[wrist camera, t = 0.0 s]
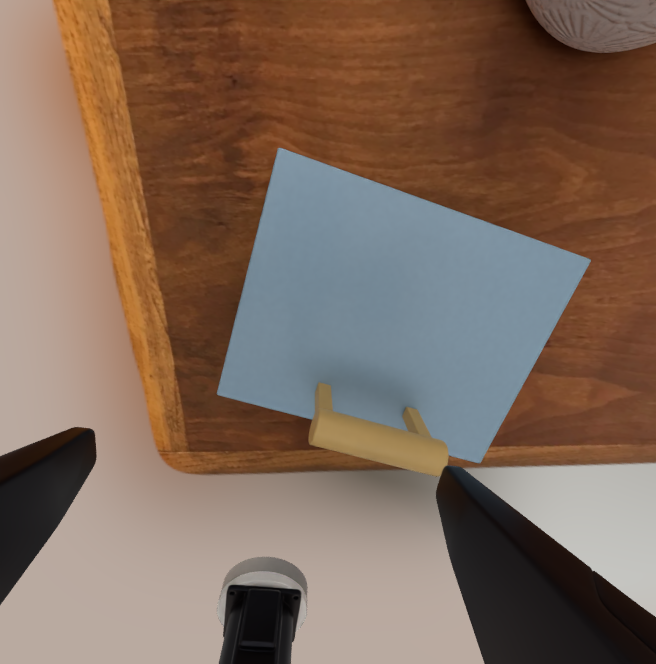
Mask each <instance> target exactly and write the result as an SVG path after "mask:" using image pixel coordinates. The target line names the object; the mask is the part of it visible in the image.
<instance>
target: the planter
mask: <svg viewBox="0 0 656 664" xmlns="http://www.w3.org/2000/svg"><path fill="white" fill-rule="evenodd" d="M526 2H527V5H528V7H529V8H530V10H531V12H532V13H533V15H534V17H535V18H536V19H537V21H538V22H539V23H540V25H541V26H542V27H543V28H544V29H545V30H546V31H547V32H548V33H549V34H550V35H552V36H553V37H554V38H555V39H557V40H559V41H560V42H562V43H564V44H565V45H568V46H570V47H572V48H575V49H579V50H582V51H588V52H596V53H612V52H620V51H627V50H631V49H636V48H640V47H644V46H647V45H650V44H653V43H656V0H526Z"/></svg>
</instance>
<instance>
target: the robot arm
mask: <svg viewBox="0 0 656 664" xmlns="http://www.w3.org/2000/svg"><path fill="white" fill-rule="evenodd" d="M95 462H96V443H95V433H94V431H93V430H92V429H90V428H81V427H74V428H71V429H68V430H66V431H63V432H61V433H58V434H56V435H53V436H50V437H48V438H46V439H43V440H41V441H38V442H35V443H33V444H30V445H27V446H25V447H22V448H20V449H17V450H15V451H12V452H10V453H7V454H5V455H2V456H0V605H1V603H2V602H3V600H4V599H5V598H6V596H7V595H8V594H9V592H10V591H11V590H12V588H13V587H14V585H15V584H16V583H17V581H18V580H19V579H20V577H21V576H22V574H23V573H24V572H25V570H26V569H27V568H28V566H29V565H30V563H31V562H32V561H33V560H34V558H35V556H36V555H37V554H38V553H39V551H40V550H41V549H42V547H43V546H44V544H45V543H46V542H47V540H48V539H49V538H50V536H51V535H52V533H53V532H54V531H55V529H56V528H57V526H58V525H59V523H60V522H61V520H62V519H63V517H64V515H65V514H66V512H67V510H68V508H69V507H70V505H71V504H72V502H73V500H74V499H75V497H76V495H77V494H78V492H79V490H80V489H81V487H82V485H83V484H84V482H85V480H86V479H87V477H88V475H89V473H90V472H91V470H92V468H93V467H94V464H95ZM436 499H437V504H438V509H439V513H440V517H441V522H442V526H443V531H444V535H445V539H446V544H447V549H448V552H449V556H450V560H451V563H452V566H453V570H454V572H455V576H456V578H457V582H458V585H459V588H460V591H461V594H462V597H463V600H464V603H465V606H466V609H467V612H468V615H469V618H470V621H471V624H472V627H473V630H474V633H475V636H476V639H477V642H478V645H479V648H480V651H481V654H482V657H483V660H484V663H485V664H656V617H655V616H653V615H652V614H651V613H649V612H648V611H646V610H645V609H644V608H642V607H641V606H640V605H638V604H637V603H636V602H634V601H633V600H632V599H630V598H629V597H628V596H626V595H625V594H624V593H622V592H621V591H620V590H618V589H617V588H616V587H615V586H613V585H612V584H611V583H609V582H608V581H607V580H606V579H604V578H603V577H602V576H600V575H599V574H598V573H597V572H595V571H592V570H591V568H590V567H589V566H587V565H586V564H585V563H584V562H582V561H581V560H579V559H578V558H577V557H576V556H575V555H573V554H572V553H571V552H569V551H568V550H567V549H566V548H564V547H563V546H562V545H560V544H559V543H558V542H556V541H555V540H554V539H553V538H551V537H550V536H549V535H547V534H546V533H545V532H544V531H542V530H541V529H540V528H538V527H537V526H536V525H535V524H533V523H532V522H531V521H529V520H528V519H527V518H526V517H524V516H523V515H522V514H520V513H519V512H518V511H517V510H515V509H514V508H513V507H511V506H510V505H509V504H508V503H506V502H505V501H504V500H502V499H501V498H500V497H499V496H497V495H496V494H495V493H493V492H492V491H491V490H490V489H488V488H487V487H485V486H484V485H483V484H482V483H480V482H479V481H478V480H476V479H475V478H474V477H473V476H471V475H470V474H469V473H468V472H466V471H465V470H464V469H462V468H461V467H457V466H445V467H444V468H443V470H442V473H441V477H440V480H439V483H438V486H437V490H436ZM301 595H302V593H301V591H300V590H298V589H288V588H274V587H261V586H247V585H230V586H228V589H227V593H226V606H225V619H224V632H223V637H224V642H223V646H222V651H221V656H220V660H219V664H291V649H292V648H291V647H292V642H293V641H294V638H295V632H296V626H297V621H298V615H299V609H300V603H301Z"/></svg>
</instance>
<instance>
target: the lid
mask: <svg viewBox="0 0 656 664" xmlns="http://www.w3.org/2000/svg"><path fill="white" fill-rule="evenodd" d="M590 261H591V260H590V259H588V258H586V257H583V256H580V255H577V254H574V253H572V252H569V251H566V250H563V249H561V248H558V247H555V246H552V245H549V244H547V243H544V242H541V241H538V240H536V239H533V238H530V237H527V236H524V235H522V234H519V233H516V232H513V231H511V230H508V229H505V228H502V227H499V226H497V225H494V224H491V223H488V222H486V221H483V220H480V219H477V218H474V217H472V216H469V215H466V214H463V213H461V212H458V211H455V210H452V209H449V208H447V207H444V206H441V205H438V204H436V203H433V202H430V201H427V200H424V199H422V198H419V197H416V196H413V195H410V194H408V193H405V192H402V191H399V190H397V189H394V188H391V187H388V186H385V185H383V184H380V183H377V182H374V181H372V180H369V179H366V178H363V177H360V176H358V175H355V174H352V173H349V172H347V171H344V170H341V169H338V168H335V167H333V166H330V165H327V164H324V163H322V162H319V161H316V160H313V159H310V158H308V157H305V156H302V155H299V154H297V153H294V152H291V151H288V150H285V149H283V148H278V150H277V154H276V158H275V162H274V166H273V170H272V174H271V178H270V182H269V186H268V190H267V194H266V198H265V202H264V206H263V210H262V214H261V218H260V222H259V226H258V230H257V234H256V238H255V242H254V246H253V250H252V254H251V258H250V262H249V266H248V270H247V274H246V278H245V282H244V286H243V290H242V294H241V298H240V302H239V306H238V310H237V314H236V318H235V322H234V327H233V331H232V335H231V339H230V343H229V347H228V351H227V355H226V359H225V363H224V367H223V371H222V375H221V379H220V383H219V387H218V391H217V395H220V396H223V397H227V398H231V399H235V400H239V401H242V402H246V403H250V404H254V405H258V406H262V407H265V408H269V409H273V410H277V411H281V412H284V413H288V414H292V415H296V416H300V417H304V418H307V419H311V420H312V423H311V427H310V431H309V444H310V445H313V446H317V447H321V448H325V449H329V450H333V451H337V452H341V453H345V454H349V455H353V456H357V457H360V458H364V459H368V460H372V461H376V462H380V463H384V464H388V465H392V466H396V467H400V468H404V469H408V470H412V471H416V472H420V473H424V474H428V475H432V476H436V477H437V476H441V473H442V470H443V468H444V467H445V466H447V464H448V458H449V456H453V457H456V458H460V459H464V460H468V461H472V462H476V463H480V462H481V461H482V459H483V457H484V455H485V453H486V451H487V450H488V448H489V446H490V444H491V442H492V440H493V439H494V437H495V435H496V433H497V431H498V429H499V428H500V426H501V424H502V422H503V420H504V419H505V417H506V415H507V413H508V411H509V409H510V408H511V406H512V404H513V402H514V400H515V398H516V397H517V395H518V393H519V391H520V389H521V387H522V386H523V384H524V382H525V380H526V378H527V377H528V375H529V373H530V371H531V369H532V367H533V366H534V364H535V362H536V360H537V358H538V356H539V355H540V353H541V351H542V349H543V347H544V345H545V344H546V342H547V340H548V338H549V336H550V335H551V333H552V331H553V329H554V327H555V325H556V324H557V322H558V320H559V318H560V316H561V314H562V313H563V311H564V309H565V307H566V305H567V303H568V302H569V300H570V298H571V296H572V294H573V293H574V291H575V289H576V287H577V285H578V283H579V282H580V280H581V278H582V276H583V274H584V272H585V271H586V269H587V267H588V265H589V263H590Z"/></svg>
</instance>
